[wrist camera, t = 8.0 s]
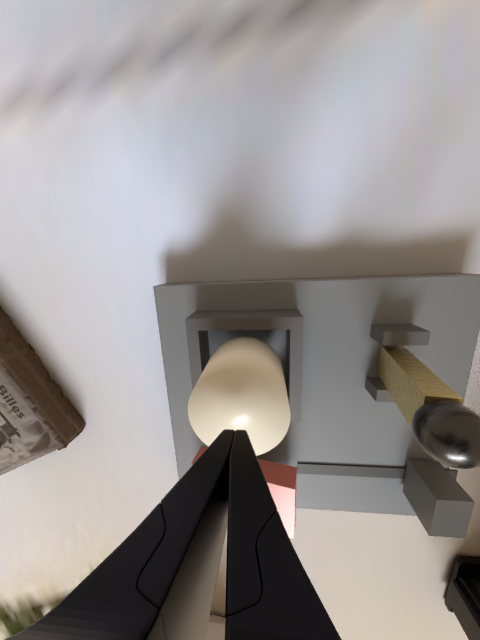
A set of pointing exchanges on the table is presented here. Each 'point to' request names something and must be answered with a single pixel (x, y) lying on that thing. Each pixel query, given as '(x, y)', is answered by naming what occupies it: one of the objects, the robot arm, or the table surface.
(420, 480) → the slider
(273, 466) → the rocker
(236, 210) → the table surface
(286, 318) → the panel
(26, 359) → the grey flat block
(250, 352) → the button
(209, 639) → the can
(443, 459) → the lever
